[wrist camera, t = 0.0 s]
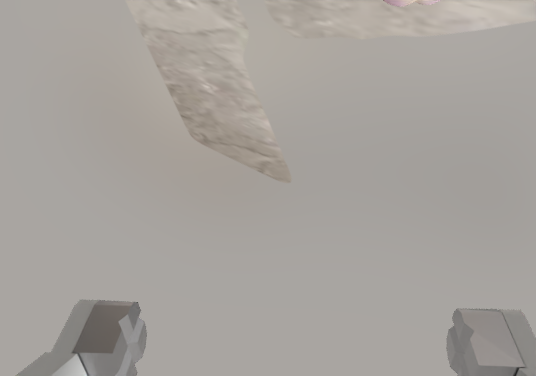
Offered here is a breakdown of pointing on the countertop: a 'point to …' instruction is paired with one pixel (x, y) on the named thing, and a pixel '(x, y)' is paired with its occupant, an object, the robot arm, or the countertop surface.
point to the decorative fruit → (409, 2)
